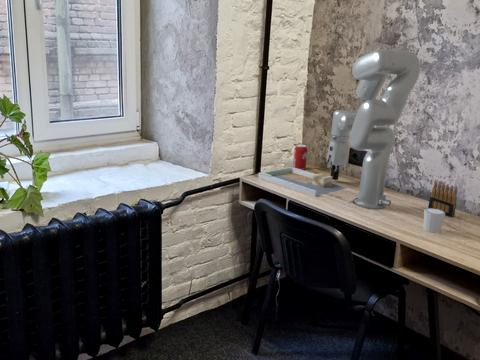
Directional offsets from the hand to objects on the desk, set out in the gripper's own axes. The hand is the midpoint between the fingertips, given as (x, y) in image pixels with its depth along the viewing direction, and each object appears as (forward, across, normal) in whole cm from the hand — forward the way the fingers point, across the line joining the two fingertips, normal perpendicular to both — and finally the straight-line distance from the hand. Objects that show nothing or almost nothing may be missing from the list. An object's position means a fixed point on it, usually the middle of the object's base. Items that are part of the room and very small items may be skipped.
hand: (334, 179), depth 220 cm
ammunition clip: (+3, +6, -47) cm, 48 cm away
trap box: (+3, -14, +7) cm, 16 cm away
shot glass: (+3, -16, -54) cm, 57 cm away
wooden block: (+1, -9, 0) cm, 9 cm away
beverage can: (+3, +8, +27) cm, 28 cm away
